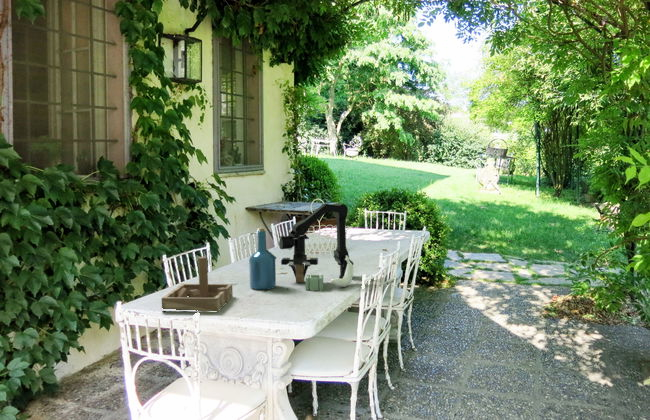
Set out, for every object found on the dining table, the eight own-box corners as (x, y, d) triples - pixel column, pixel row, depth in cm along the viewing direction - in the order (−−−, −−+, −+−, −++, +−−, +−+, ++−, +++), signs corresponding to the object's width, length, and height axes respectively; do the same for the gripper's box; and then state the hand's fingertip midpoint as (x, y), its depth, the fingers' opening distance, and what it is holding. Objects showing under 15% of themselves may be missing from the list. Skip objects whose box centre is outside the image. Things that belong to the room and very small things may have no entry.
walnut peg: (296, 280, 302) (296, 263, 301) (304, 280, 301) (304, 263, 300) (295, 282, 298) (295, 265, 297) (303, 282, 297) (303, 265, 297)
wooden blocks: (169, 305, 257) (167, 261, 256) (207, 297, 271) (205, 255, 269) (190, 312, 245) (187, 266, 243) (228, 303, 259) (226, 259, 257)
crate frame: (182, 296, 273) (182, 283, 272) (232, 296, 271) (232, 284, 270) (162, 311, 246) (161, 298, 245) (217, 312, 244) (216, 298, 243)
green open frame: (307, 286, 289) (307, 274, 289) (323, 286, 289) (323, 274, 288) (305, 290, 281) (305, 278, 281) (322, 290, 281) (321, 278, 280)
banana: (330, 290, 281) (330, 260, 280) (347, 282, 298) (346, 254, 297) (339, 291, 279) (339, 261, 278) (355, 283, 296) (355, 254, 294)
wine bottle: (251, 291, 281) (250, 230, 278) (248, 285, 294) (246, 227, 291) (279, 289, 285) (278, 229, 282) (274, 283, 297) (273, 225, 294)
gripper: (279, 250, 291) (279, 280, 292) (315, 250, 289) (316, 281, 291) (282, 246, 302) (283, 276, 303) (318, 246, 300) (318, 276, 302)
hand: (300, 277), depth 299 cm, fingers closed on walnut peg, 4 cm apart
